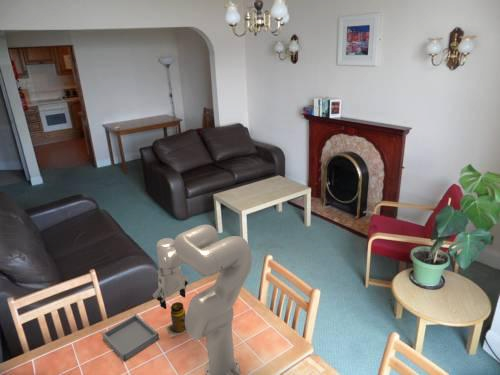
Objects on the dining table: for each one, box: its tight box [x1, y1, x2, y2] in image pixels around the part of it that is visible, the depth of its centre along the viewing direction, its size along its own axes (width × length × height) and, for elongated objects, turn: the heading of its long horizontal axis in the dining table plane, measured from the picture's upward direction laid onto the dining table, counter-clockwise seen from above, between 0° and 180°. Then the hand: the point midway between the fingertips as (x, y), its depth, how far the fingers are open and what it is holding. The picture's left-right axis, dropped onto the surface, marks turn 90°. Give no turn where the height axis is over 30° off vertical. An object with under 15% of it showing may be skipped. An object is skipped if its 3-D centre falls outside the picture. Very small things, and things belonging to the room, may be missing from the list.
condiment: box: [165, 301, 187, 338], centre depth 160 cm, size 7×8×12 cm
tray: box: [101, 314, 160, 362], centre depth 157 cm, size 18×16×3 cm
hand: (173, 301), depth 157 cm, fingers open, 9 cm apart
